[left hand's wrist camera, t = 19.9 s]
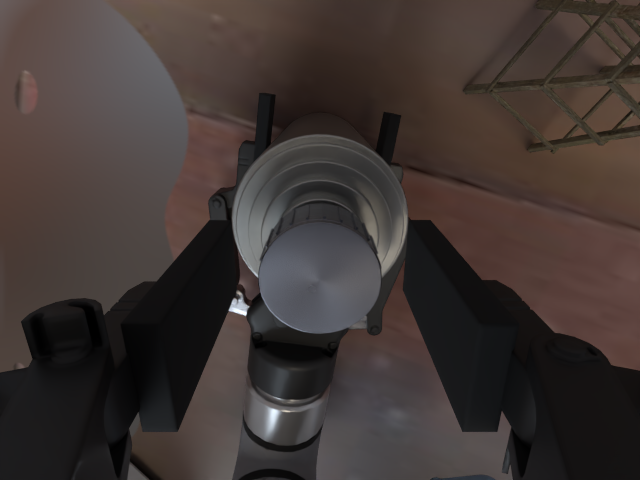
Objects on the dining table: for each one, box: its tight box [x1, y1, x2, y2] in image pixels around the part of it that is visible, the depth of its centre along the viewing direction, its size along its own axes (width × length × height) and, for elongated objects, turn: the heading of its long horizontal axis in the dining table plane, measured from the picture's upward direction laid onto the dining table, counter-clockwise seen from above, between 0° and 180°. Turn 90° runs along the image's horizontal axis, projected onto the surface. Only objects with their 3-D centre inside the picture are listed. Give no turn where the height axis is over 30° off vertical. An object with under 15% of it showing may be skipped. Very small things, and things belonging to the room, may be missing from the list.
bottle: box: [232, 113, 408, 278], centre depth 24 cm, size 8×8×23 cm
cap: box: [258, 203, 382, 334], centre depth 13 cm, size 4×4×2 cm
